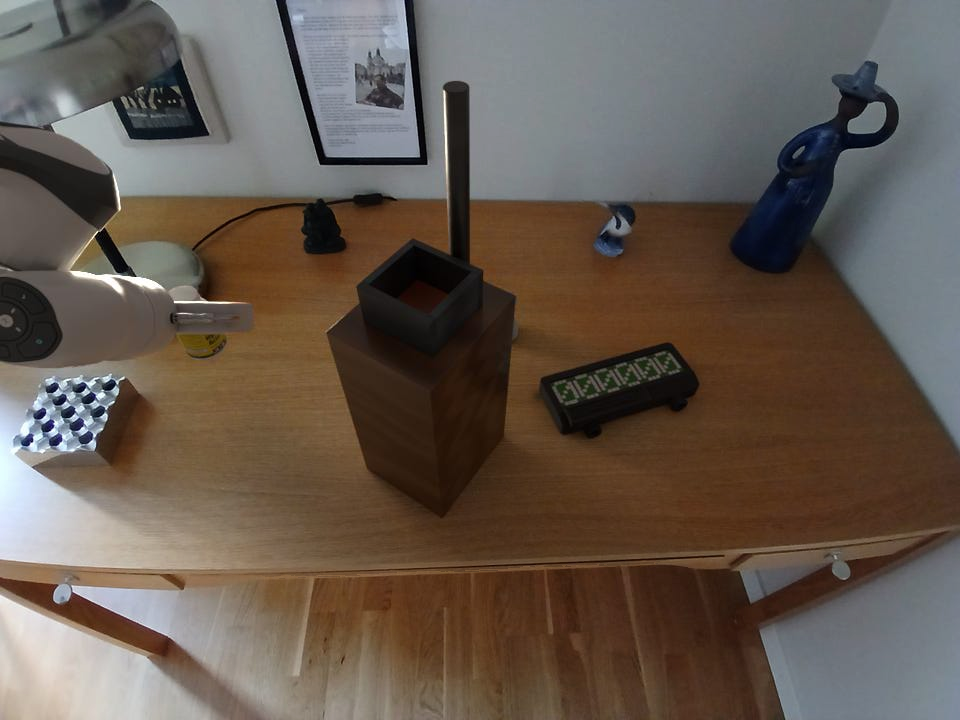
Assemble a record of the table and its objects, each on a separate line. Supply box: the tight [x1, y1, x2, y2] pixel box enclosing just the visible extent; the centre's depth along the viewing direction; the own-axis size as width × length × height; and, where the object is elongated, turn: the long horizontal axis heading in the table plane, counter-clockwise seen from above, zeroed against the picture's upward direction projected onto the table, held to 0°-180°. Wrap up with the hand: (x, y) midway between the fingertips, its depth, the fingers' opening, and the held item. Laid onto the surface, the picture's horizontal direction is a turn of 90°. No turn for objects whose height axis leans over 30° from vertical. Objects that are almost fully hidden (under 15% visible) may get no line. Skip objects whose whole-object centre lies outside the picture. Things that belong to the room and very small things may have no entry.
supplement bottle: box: [167, 285, 228, 362], centre depth 74 cm, size 5×5×10 cm
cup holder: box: [325, 80, 517, 519], centre depth 55 cm, size 14×12×45 cm
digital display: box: [538, 341, 700, 439], centre depth 78 cm, size 21×3×10 cm
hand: (194, 316), depth 74 cm, fingers closed on supplement bottle, 5 cm apart
